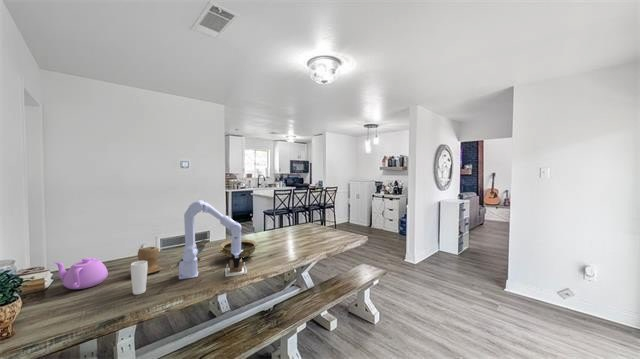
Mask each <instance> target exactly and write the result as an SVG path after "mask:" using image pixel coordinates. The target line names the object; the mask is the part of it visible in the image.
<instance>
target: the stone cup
mask: <svg viewBox="0 0 640 359" xmlns="http://www.w3.org/2000/svg"><path fill="white" fill-rule="evenodd" d="M159 254H160V250H159V247H158V246H148V247H141V248H139V249H138V252H137V259H138V260H137V261H147V265H148V270H147V275H149V274H152V273H157V272H159V271H161V270H163V268H162V266H160V265H157V263H158V259H159Z"/></svg>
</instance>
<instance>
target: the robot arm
mask: <svg viewBox="0 0 640 359" xmlns="http://www.w3.org/2000/svg"><path fill="white" fill-rule="evenodd" d="M200 212H201V213H206V214H207V213H208V214H210V215H212V216H213V217H214V218H216V219H218V220H219V222H220V224H221V226H223V227H225V228H226V229H228V230H229V231H230V233H231V236H230V238H231V239H230V240H231V254H232V256H231V257H230V258H231V260H233V263H234V268H238V266H239V261H240V259H241V256H240V253H241V252H243V250H241V239H242V229H243V228H242V224H241V223H239V222H238V221H235V220H233V218H231V215H224V214H222V213H221V212H220V211H219V210H217V209H216V208H215V207H213V206H212V205H211V204H210V203H208V202H206V201H205V200H204V199H198V200H196V201H194V202H192V203H191V204H190V205H189V206H188V208H187V210H186V211H185V212H184V215H183V217H184V218H183V220H184V221H183V222H184V238H185V239H184V241H185V242H184V243H185V244H184V249H183V254H182V256H181V257H182V258H181V259H183V261H180V260H179V261H180V263H179V265H178V280H185V279H192V278H198V276H199V270H198V260H197V257H198V255H199V254H198V249H197V247H196V245H197V244H196V231H195V230H196V229H195V217H196V215H197V214H199V213H200ZM197 254H198V255H197Z"/></svg>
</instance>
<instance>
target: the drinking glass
mask: <svg viewBox="0 0 640 359" xmlns="http://www.w3.org/2000/svg"><path fill="white" fill-rule="evenodd" d="M147 270H148V265H147V261H139V260H137V261H134V262H131V264H130V279H131V286H132V294H133V295H137V296H138V295H141V294H144V293H146V290H147V278H148V274H147Z"/></svg>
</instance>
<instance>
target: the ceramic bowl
mask: <svg viewBox="0 0 640 359" xmlns="http://www.w3.org/2000/svg"><path fill="white" fill-rule="evenodd" d="M258 246H259V243H258V242H257V241H256V240H252V239H242V238H241V250H243V252H241V253H240V256H241V258H243V257H245V258H246V257H249V256H250V255H252V254H253V253H254V252H255V250H256V247H258ZM220 247H221V248H222V250H218V251H217V252H218V254H223V255H225V256H226V257H228V258H231V256H232V254H231V239H230V240H227V241H224V242H222V243H221V244H220Z"/></svg>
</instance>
